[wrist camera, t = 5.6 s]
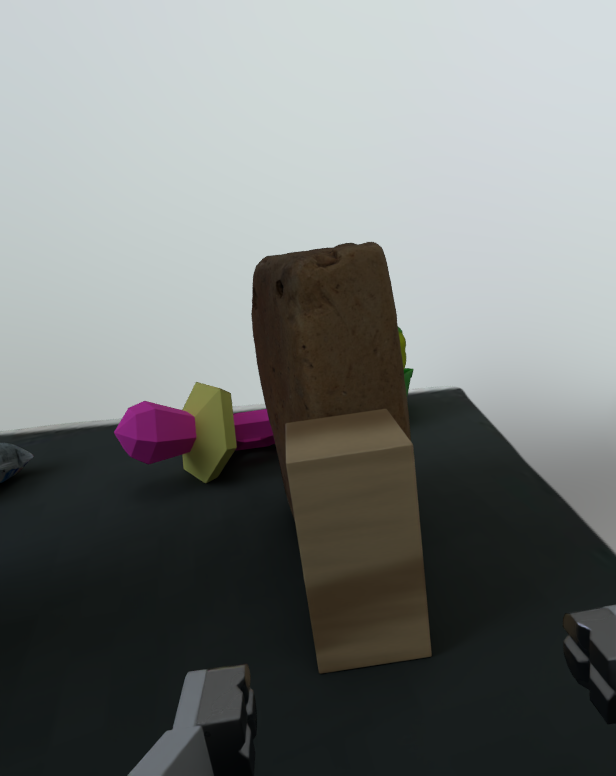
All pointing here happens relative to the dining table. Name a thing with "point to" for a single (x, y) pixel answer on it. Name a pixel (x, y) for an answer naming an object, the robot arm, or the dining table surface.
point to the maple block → (359, 539)
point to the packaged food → (12, 460)
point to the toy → (193, 431)
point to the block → (327, 338)
